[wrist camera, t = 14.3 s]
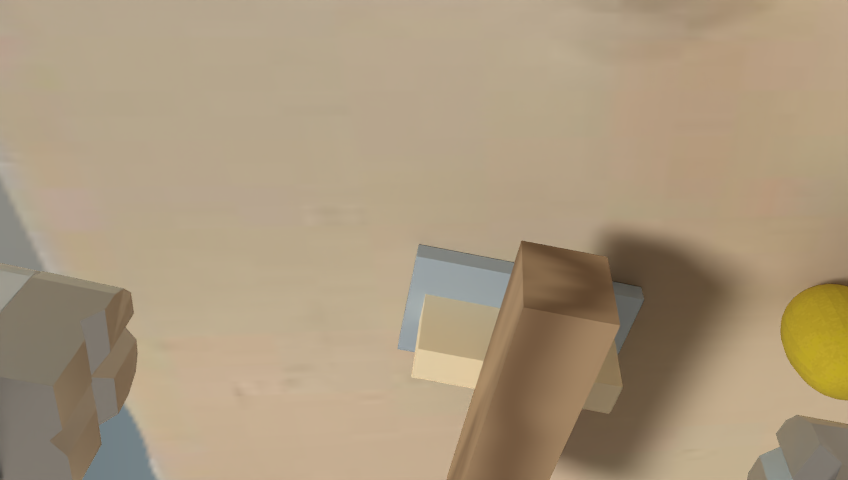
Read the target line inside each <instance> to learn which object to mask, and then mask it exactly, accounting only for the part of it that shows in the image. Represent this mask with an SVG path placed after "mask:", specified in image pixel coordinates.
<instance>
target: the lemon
mask: <svg viewBox="0 0 848 480" xmlns="http://www.w3.org/2000/svg"><path fill="white" fill-rule="evenodd" d="M781 340H782V343H783V347H784V350H785V353H786V355H787V358H788V360H789V361H790V363H791V365H792V366H793V367H794V369H795V370H796V371H797V372H798V374H799V375H800V376H801V377H802V379H803V380H804V381H805V382H806V383H807V384H808V385H810V386H811V387H812V388H814V389H815V390H817V391H818V392H820V393H822V394H823V395H826V396H829V397H832V398H835V399H840V400H848V286H844V285H840V284H823V285H817V286H814V287H811V288H808V289H806V290H804V291H802V292H801V293H799V294H798V295H797V296H796V297H794V298H793V299H792V301H791V302H790V303H789V304H788V306H787V307H786V309H785V312H784V314H783V316H782V321H781Z"/></svg>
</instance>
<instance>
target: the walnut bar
mask: <svg viewBox="0 0 848 480" xmlns="http://www.w3.org/2000/svg"><path fill="white" fill-rule="evenodd" d="M619 327H620V321H619V316H618V310H617V305H616V300H615V294H614V289H613V284H612V278H611V273H610V267H609V262H608V257H604V256H599V255H594V254H589V253H584V252H578V251H573V250H568V249H563V248H557V247H552V246H547V245H542V244H537V243H531V242H526V241H521V244H520V247H519V250H518V253H517V257H516V260H515V263H514V266H513V269H512V273H511V276H510V279H509V282H508V285H507V288H506V292H505V295H504V298H503V301H502V304H501V307H500V311H499V314H498V317H497V320H496V323H495V327H494V330H493V333H492V336H491V339H490V342H489V346H488V349H487V352H486V355H485V358H484V361H483V365H482V368H481V371H480V374H479V377H478V381H477V384H476V387H475V390H474V393H473V396H472V400H471V403H470V406H469V409H468V412H467V415H466V419H465V422H464V425H463V428H462V431H461V435H460V438H459V441H458V444H457V447H456V450H455V454H454V457H453V460H452V463H451V466H450V469H449V473H448V476H447V480H549V479H550V477H551V475H552V473H553V471H554V469H555V466H556V464H557V462H558V460H559V458H560V456H561V453H562V451H563V449H564V447H565V445H566V443H567V440H568V438H569V436H570V434H571V432H572V430H573V427H574V425H575V423H576V421H577V419H578V416H579V414H580V412H581V410H582V408H583V406H584V403H585V401H586V399H587V397H588V395H589V393H590V390H591V388H592V386H593V384H594V382H595V380H596V377H597V375H598V373H599V371H600V369H601V367H602V364H603V362H604V360H605V358H606V356H607V353H608V351H609V349H610V347H611V345H612V343H613V340H614V338H615V336H616V334H617V332H618V330H619Z"/></svg>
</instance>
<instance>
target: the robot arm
mask: <svg viewBox="0 0 848 480" xmlns="http://www.w3.org/2000/svg"><path fill="white" fill-rule="evenodd" d="M133 314H134V311H133V304H132V297H131V292H129V291H127V290H125V289H124V288H119V287H114V286H110V285H105V284H100V283H96V282H91V281H86V280H82V279H77V278H72V277H68V276H63V275H58V274H54V273H49V272H44V271H42V272H40V271H35V270H31V269H26V268H21V267H17V266H12V265H7V264H3V263H0V480H82V478H83V477H84V475H85V473H86V471H87V469H88V468H89V466H90V464H91V462H92V460H93V459H94V457H95V455H96V453H97V452H98V450H99V448H100V446H101V437H100V430H99V425H100V424H102V423H104V422H105V421H107V420H109V419H110V418H112V417H114V416H115V415H117V414H118V413H119V411H120V409H121V407H122V406H123V404H124V402H125V400H126V398H127V396H128V394H129V391H130V388H131V385H132V381H133V378H134V375H135V372H136V363H137V341H136V339H135V337H134V336H133V335H132V334H131V333H130V332H129V331H128V330H127V328H126V325H127V323H128V322H129V320H130V319H131V317H132V315H133ZM776 436H777V439H778V442H779V446H780V447H778V448H776V449H774V450H772V451H769V452H767V453H765V454H763V455H760V456H759V458H758V459H757V461H756V462H755V464H754V465H753V467H752V468H751V470H750V471H749V473H748V478H747V480H848V424H845V423H839V422H834V421H828V420H823V419H817V418H811V417H806V416H800V415H796V416H794V417H792V418H790V419H788V420H786V421H785V422H784V424H783V425H782V426H781V428H780V429H779V430H778V432H777V433H776Z"/></svg>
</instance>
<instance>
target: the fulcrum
mask: <svg viewBox="0 0 848 480" xmlns="http://www.w3.org/2000/svg"><path fill="white" fill-rule="evenodd" d="M513 266H514V263H513V262H508V261H503V260H498V259H492V258H487V257H482V256H477V255H472V254H466V253H461V252H456V251H451V250H445V249H440V248H435V247H430V246H425V245H419V247H418V251H417V256H416V261H415V266H414V270H413V275H412V280H411V285H410V289H409V294H408V299H407V304H406V309H405V313H404V318H403V323H402V328H401V332H400V337H399V343H398V349H400V350H406V351H411V352H415V355H414V362H413V369H412V376H411V377H414V378H419V379H425V380H430V381H435V382H441V383H446V384H451V385H457V386H462V387H467V388H473V389H475V387H476V384H477V381H478V377H479V374H480V371H481V368H482V365H483V361H484V358H485V355H486V352H487V349H488V346H489V342H490V339H491V336H492V333H493V330H494V327H495V323H496V320H497V317H498V314H499V311H500V307H501V304H502V301H503V298H504V295H505V292H506V288H507V285H508V282H509V279H510V276H511V273H512V269H513ZM612 284H613V289H614V294H615V300H616V305H617V310H618V316H619V321H620V327H619V330H618V332H617V334H616V336H615V338H614V340H613V343H612V345H611V347H610V349H609V351H608V353H607V356H606V358H605V360H604V362H603V364H602V367H601V369H600V371H599V373H598V375H597V377H596V380H595V382H594V384H593V386H592V388H591V390H590V393H589V395H588V397H587V399H586V401H585V403H584V406H583V408H582V409H585V410H591V411H596V412H601V413H607V414H610V412H611V410H612V408H613V406H614V404H615V402H616V400H617V398H618V396H619V394H620V392H621V390H622V388H623V384H622V378H621V373H620V367H619V361H618V354H619V352H620V350H621V347H622V345H623V343H624V341H625V339H626V337H627V335H628V333H629V331H630V329H631V326H632V324H633V322H634V320H635V318H636V316H637V314H638V312H639V310H640V308H641V305H642V303H643V301H644V297H643V293H642V288H641V287H638V286H633V285H628V284H623V283H617V282H612Z"/></svg>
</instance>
